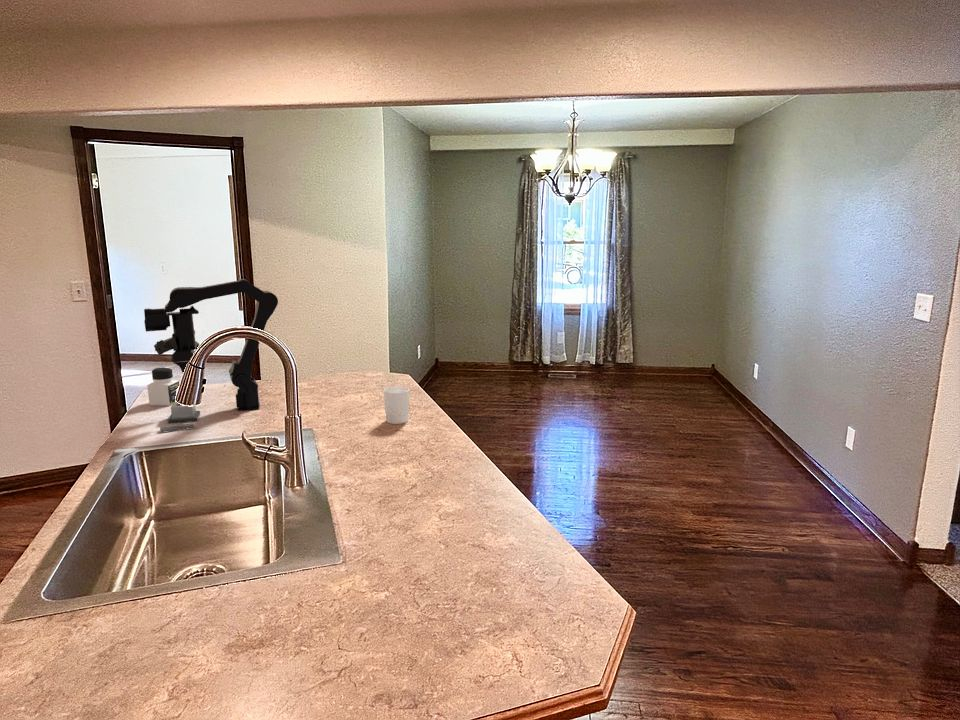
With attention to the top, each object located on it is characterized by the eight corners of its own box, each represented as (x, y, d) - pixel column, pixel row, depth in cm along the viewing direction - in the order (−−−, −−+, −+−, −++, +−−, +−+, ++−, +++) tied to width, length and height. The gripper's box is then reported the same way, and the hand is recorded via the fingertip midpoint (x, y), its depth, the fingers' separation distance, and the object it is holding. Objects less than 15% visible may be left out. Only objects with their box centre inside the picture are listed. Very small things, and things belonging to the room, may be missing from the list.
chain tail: (194, 426, 179) (194, 422, 179) (194, 428, 178) (194, 424, 177) (160, 430, 176) (160, 426, 175) (160, 432, 174) (160, 428, 173)
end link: (196, 411, 190) (194, 400, 189) (193, 417, 185) (192, 406, 184) (175, 413, 188) (173, 402, 188) (171, 419, 183) (170, 407, 182)
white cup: (412, 417, 189) (411, 386, 187) (407, 425, 182) (406, 393, 180) (387, 416, 190) (387, 385, 188) (381, 424, 182) (380, 392, 180)
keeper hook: (200, 413, 192) (198, 398, 191) (197, 421, 184) (195, 405, 183) (172, 415, 189) (170, 400, 188) (168, 423, 182) (166, 407, 181)
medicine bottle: (170, 406, 200) (166, 370, 197) (149, 405, 200) (145, 370, 197) (181, 400, 207) (177, 365, 204) (160, 399, 207) (157, 365, 204)
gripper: (158, 325, 191) (164, 373, 194) (149, 335, 174) (156, 388, 177) (197, 323, 195) (202, 370, 198) (191, 333, 178) (197, 384, 181)
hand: (189, 378), depth 189 cm, fingers open, 9 cm apart
